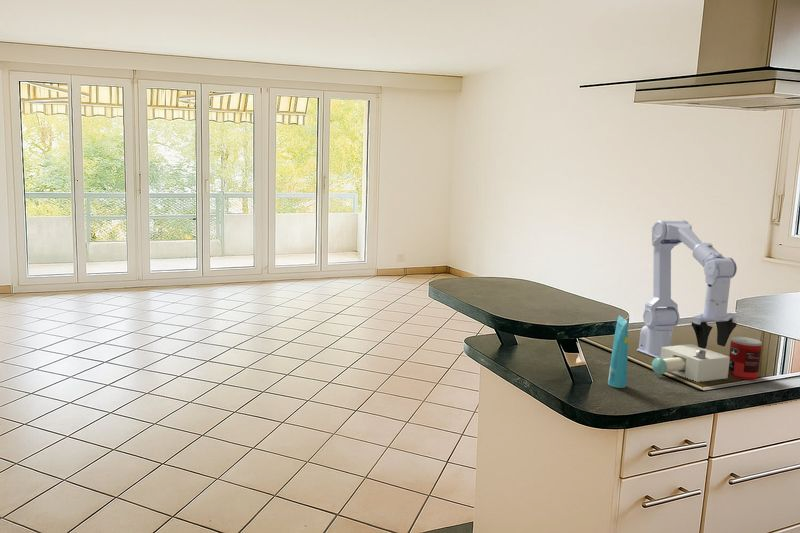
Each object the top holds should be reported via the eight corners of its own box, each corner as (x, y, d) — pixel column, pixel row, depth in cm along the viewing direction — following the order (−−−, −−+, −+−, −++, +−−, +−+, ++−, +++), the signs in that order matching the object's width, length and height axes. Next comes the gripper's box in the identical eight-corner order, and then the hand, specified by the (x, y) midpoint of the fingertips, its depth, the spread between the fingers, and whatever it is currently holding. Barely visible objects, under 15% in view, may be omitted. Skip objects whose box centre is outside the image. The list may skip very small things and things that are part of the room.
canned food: (730, 370, 188) (734, 335, 186) (760, 376, 183) (764, 340, 181) (724, 376, 182) (728, 339, 180) (755, 382, 177) (759, 345, 175)
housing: (659, 367, 189) (661, 347, 188) (689, 363, 193) (691, 343, 192) (696, 382, 176) (698, 360, 175) (727, 378, 180) (729, 356, 179)
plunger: (693, 363, 179) (694, 349, 178) (699, 362, 180) (700, 349, 179) (700, 365, 177) (701, 352, 176) (706, 364, 178) (707, 351, 177)
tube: (630, 390, 168) (637, 321, 165) (613, 390, 168) (619, 321, 165) (619, 380, 175) (625, 314, 172) (603, 380, 175) (608, 314, 172)
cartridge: (651, 371, 181) (652, 355, 181) (694, 366, 188) (695, 351, 187) (663, 376, 177) (665, 360, 176) (707, 371, 183) (708, 355, 182)
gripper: (709, 304, 168) (704, 352, 170) (747, 301, 174) (741, 348, 176) (688, 299, 175) (684, 345, 177) (725, 296, 180) (720, 341, 182)
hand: (711, 346), depth 177 cm, fingers open, 7 cm apart
